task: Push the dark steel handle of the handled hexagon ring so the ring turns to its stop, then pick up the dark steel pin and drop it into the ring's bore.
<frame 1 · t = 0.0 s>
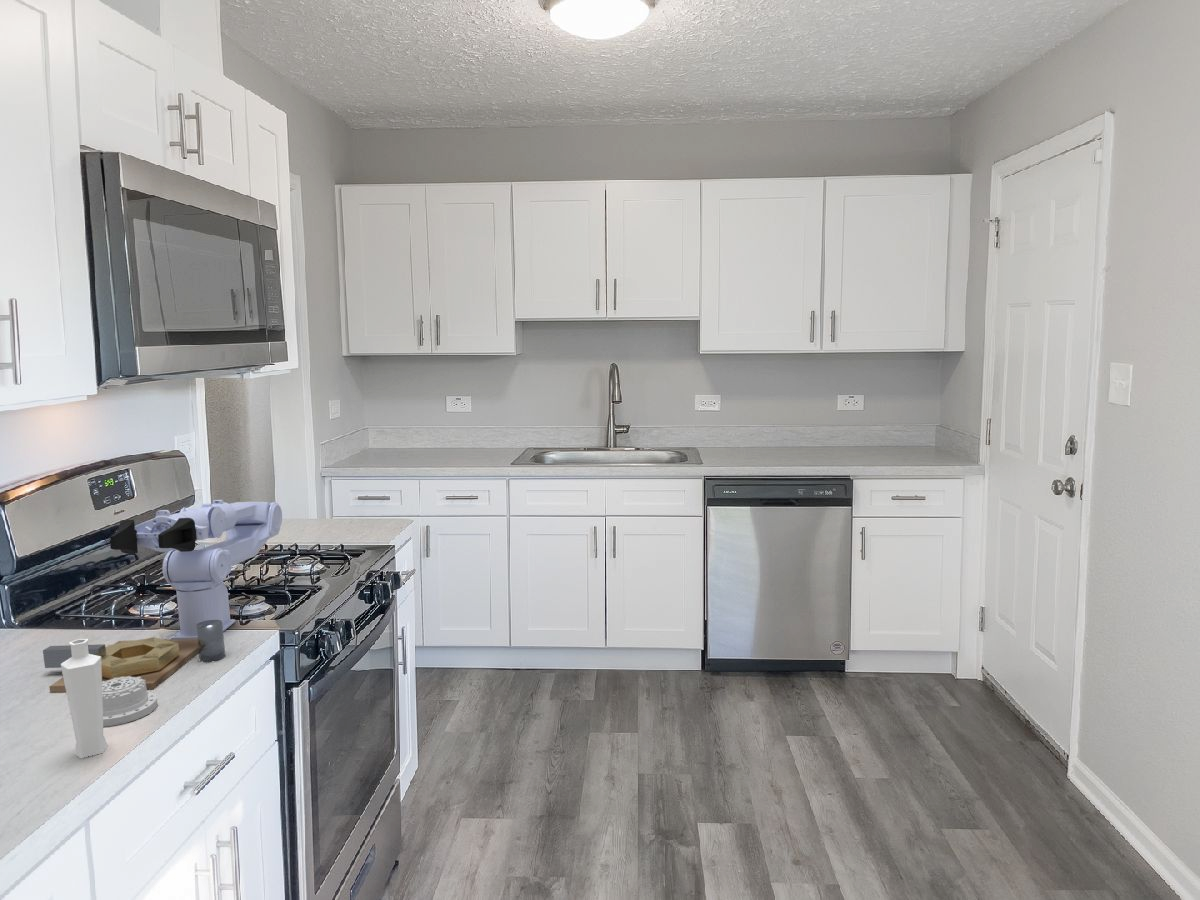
hand: (136, 542, 141), 22 cm above the table, tool horizontal, fingers open, 7 cm apart
mount board: (135, 666, 147), on the table
steel pin: (212, 657, 150), on the table
perfume bottle: (93, 751, 117), on the table
mechanical component: (119, 715, 129), on the table
handled hexagon ring: (108, 655, 144), point 3 cm above the table, hinge at 0.0°
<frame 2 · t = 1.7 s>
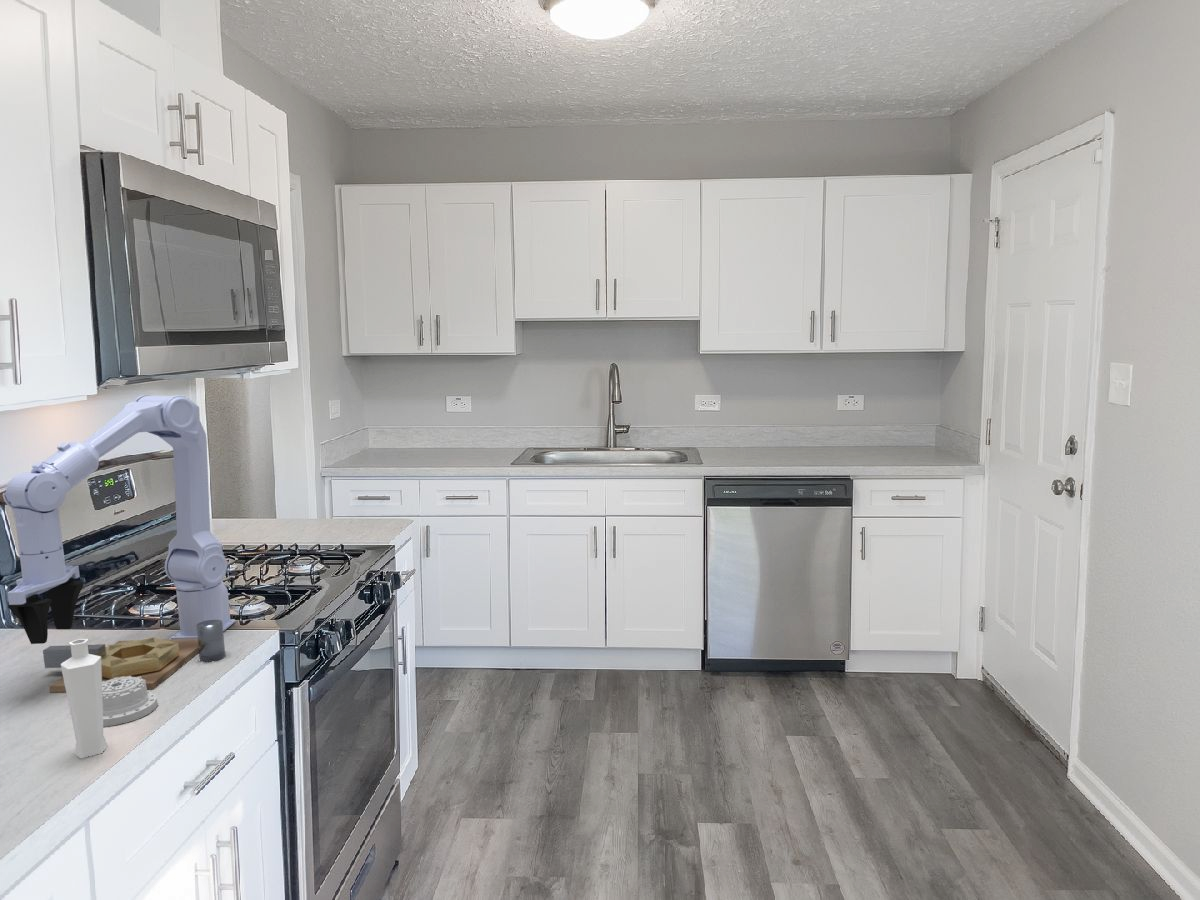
hand: (51, 635, 138), 8 cm above the table, tool pointing down, fingers open, 6 cm apart
nothing on the table moved.
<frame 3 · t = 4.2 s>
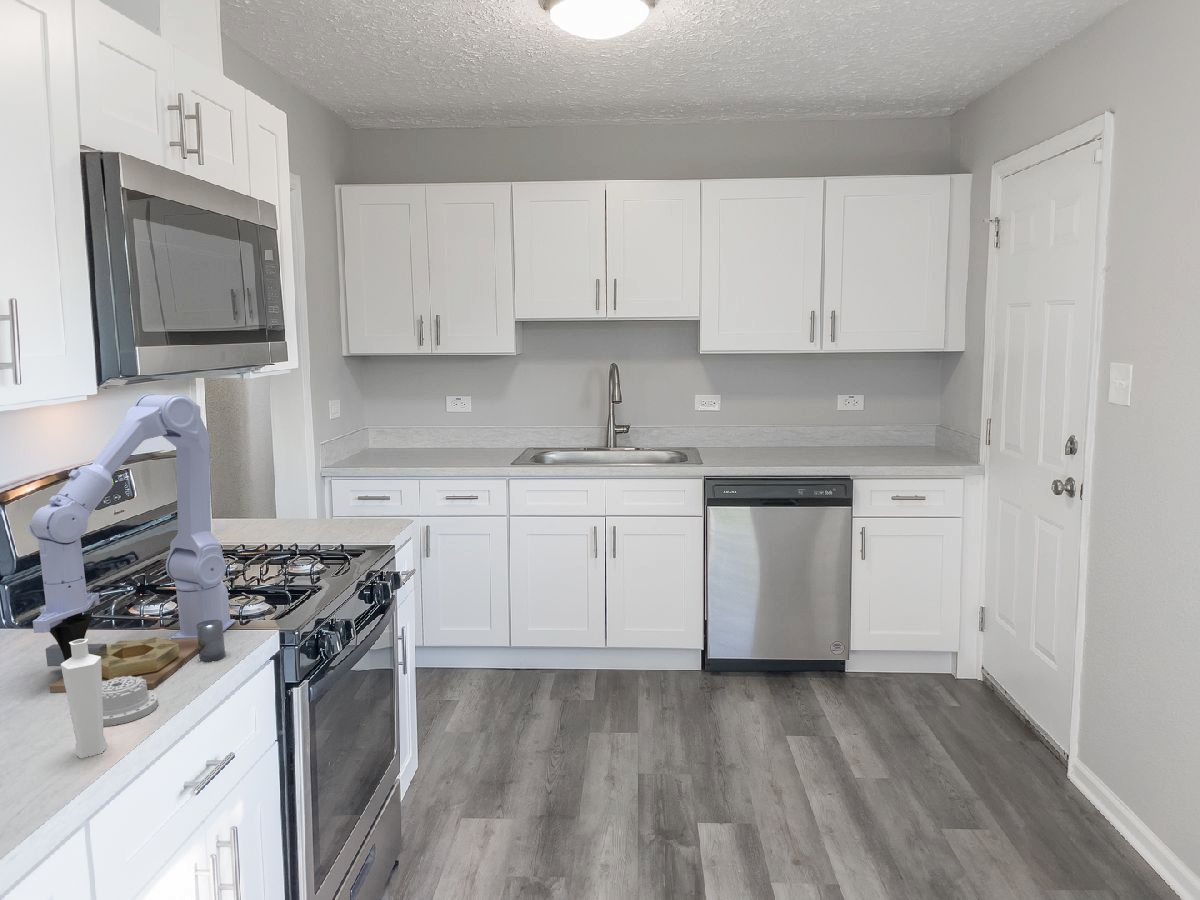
hand: (73, 661, 143), 2 cm above the table, tool pointing down, fingers closed
handled hexagon ring: (109, 654, 145), point 3 cm above the table, hinge at -3.0°, touching gripper
everything else where it was.
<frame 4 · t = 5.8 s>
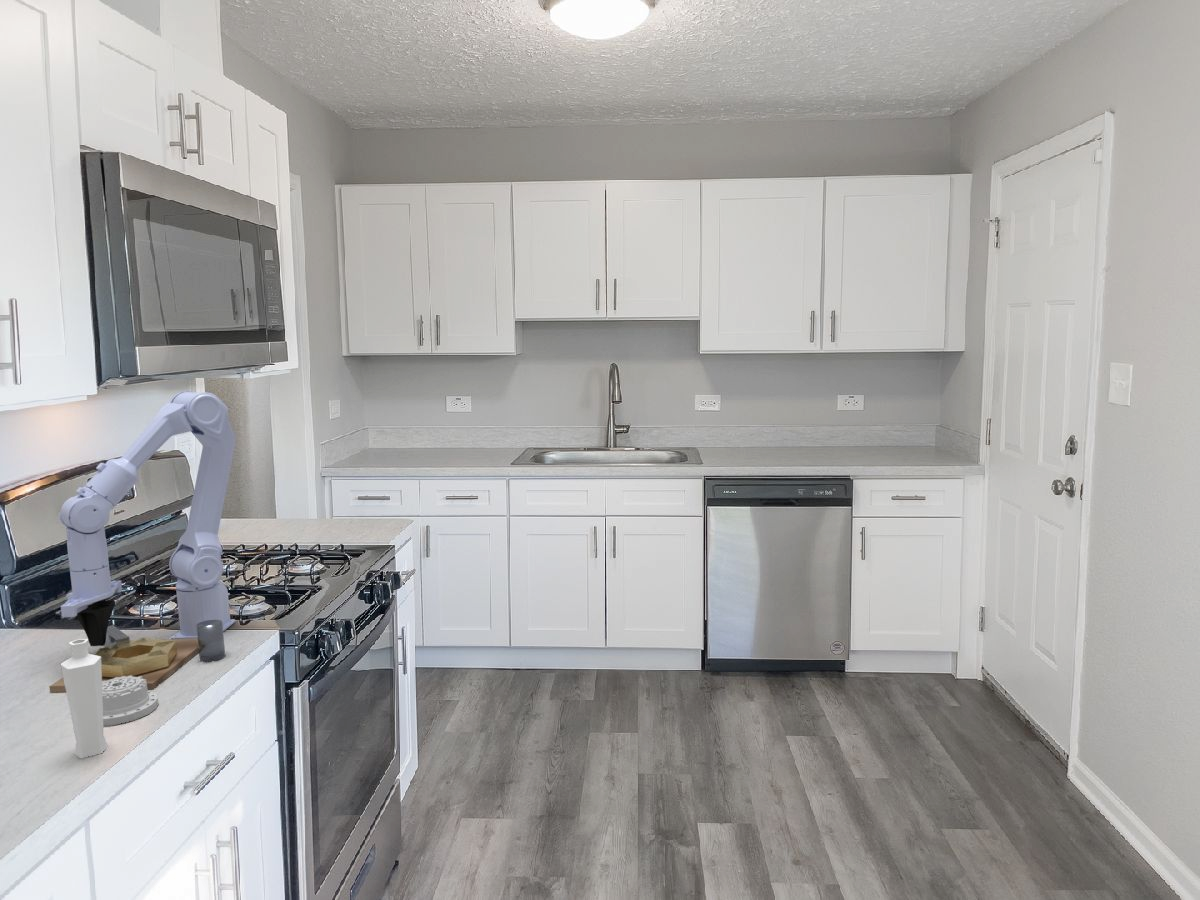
hand: (97, 645, 150), 2 cm above the table, tool pointing down, fingers closed
handled hexagon ring: (125, 648, 147), point 3 cm above the table, hinge at -45.7°, touching gripper
everything else where it was.
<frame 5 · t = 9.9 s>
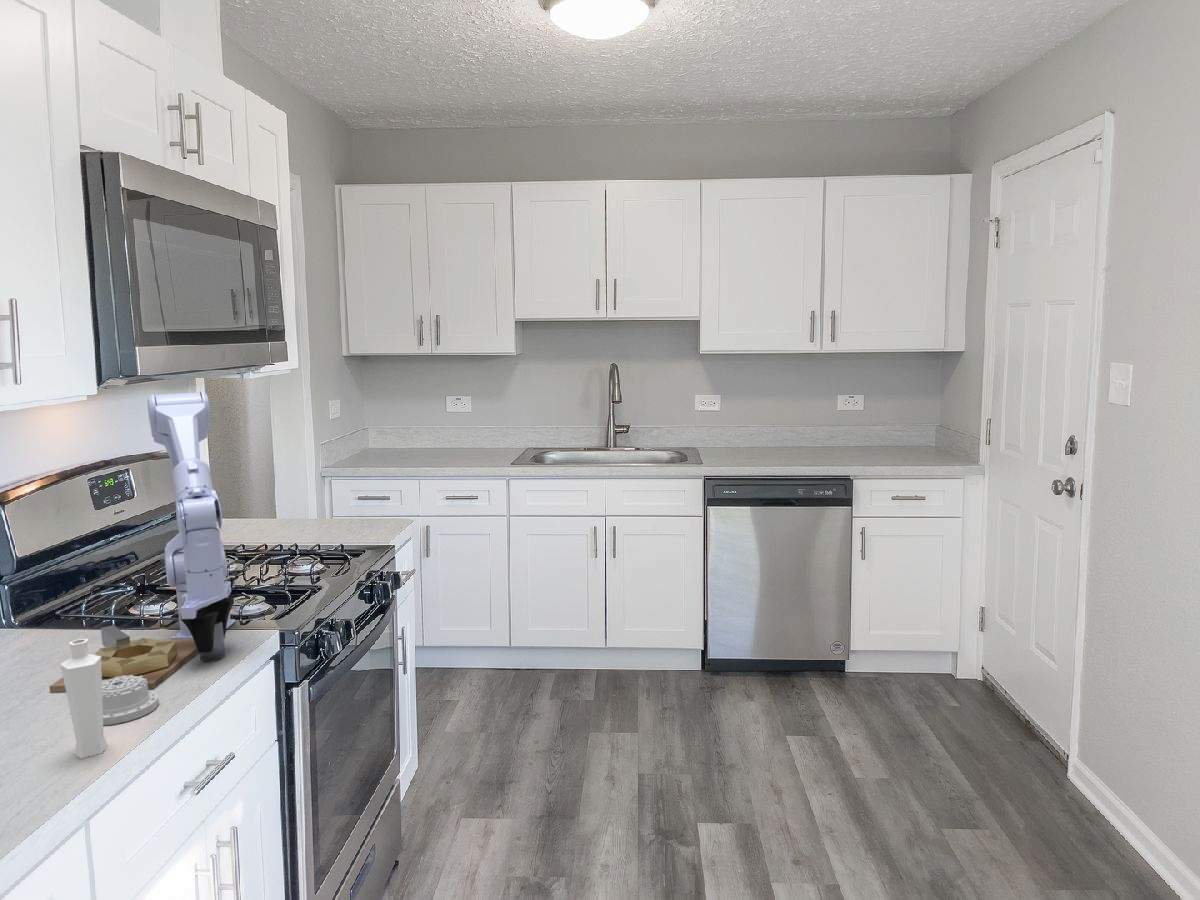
hand: (211, 646, 149), 2 cm above the table, tool pointing down, fingers closed on steel pin, 4 cm apart
steel pin: (212, 657, 150), on the table, touching gripper
handled hexagon ring: (125, 648, 147), point 3 cm above the table, hinge at -46.0°
everything else where it was.
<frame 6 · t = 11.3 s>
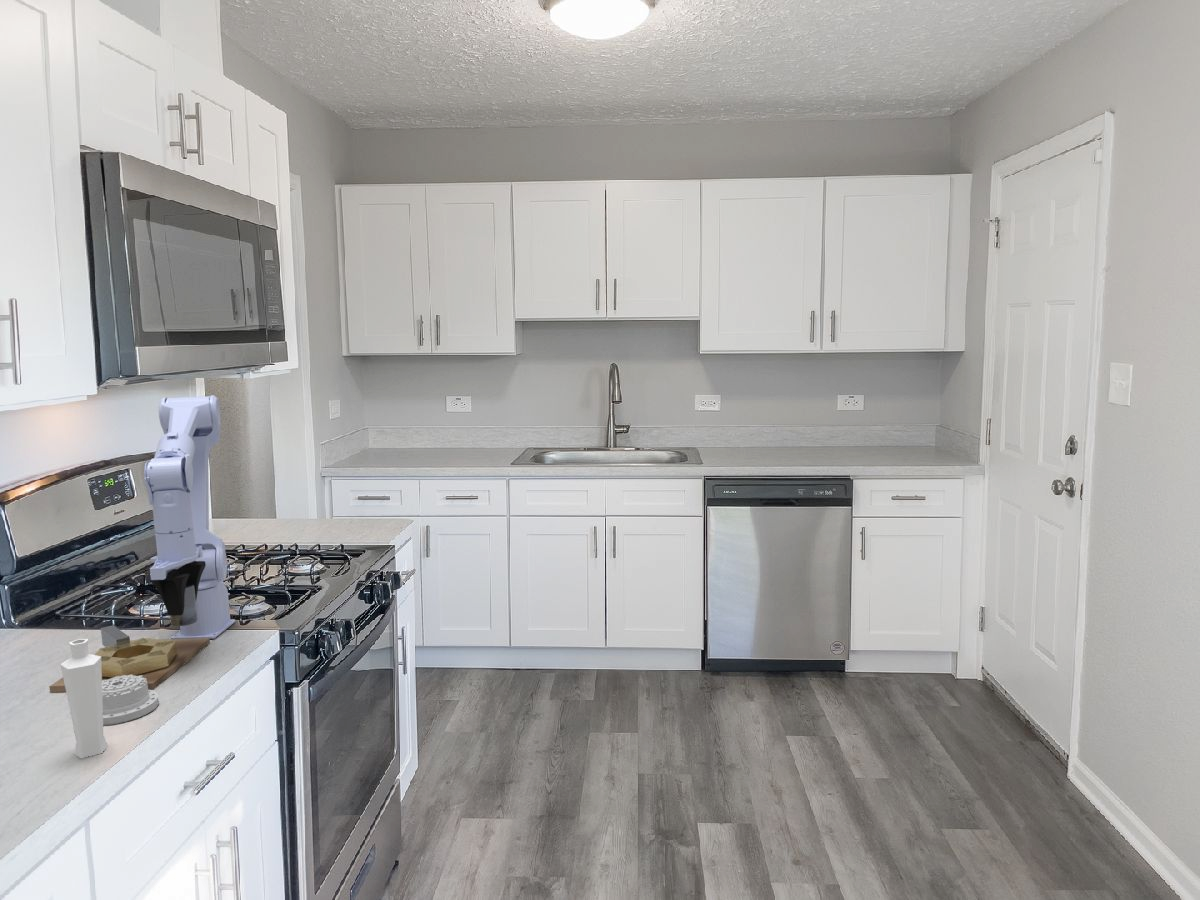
hand: (182, 610, 147), 9 cm above the table, tool pointing down, fingers closed on steel pin, 4 cm apart
steel pin: (184, 622, 147), point 7 cm above the table, touching gripper
everything else where it was.
when the fingers open (4 cm above the table, at t = 13.0 s): steel pin drops 1 cm, resting on mount board.
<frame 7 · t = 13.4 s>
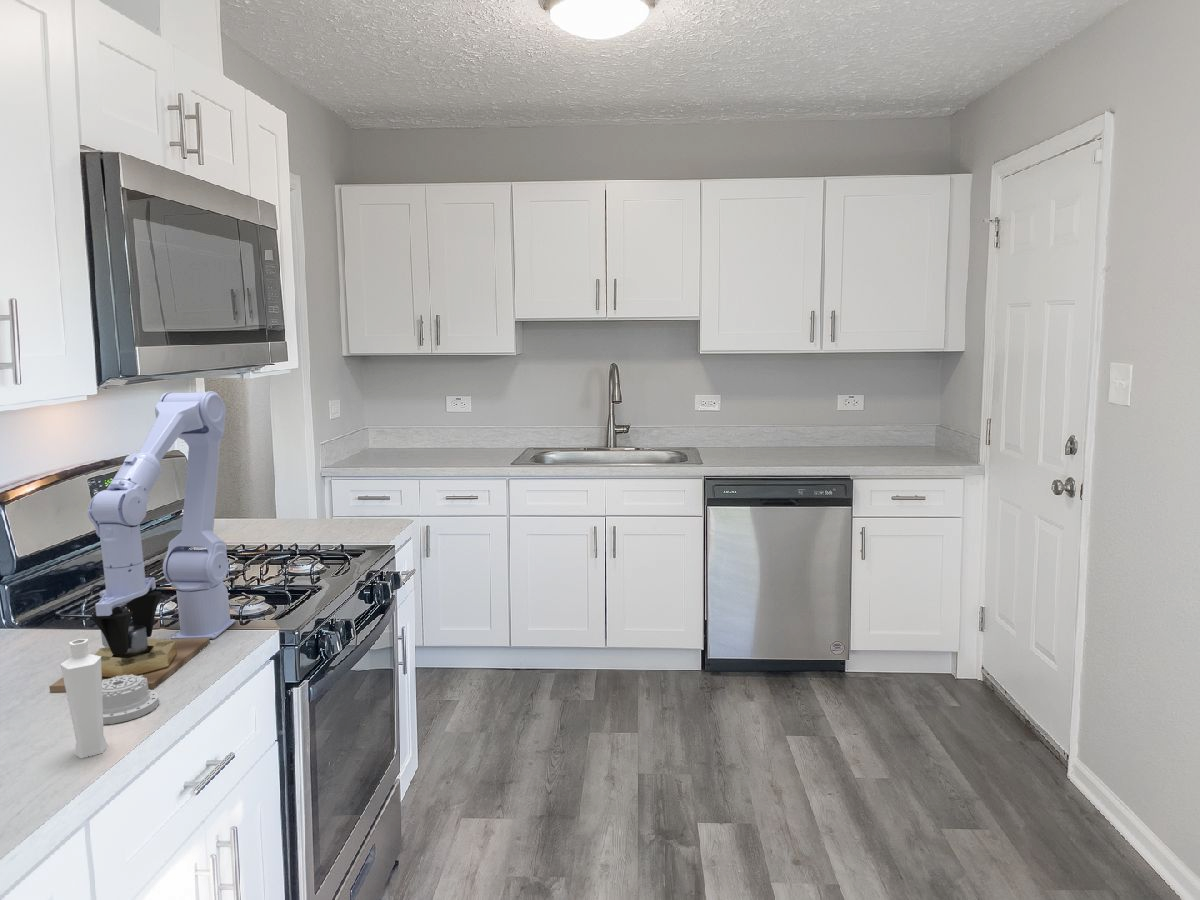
hand: (132, 644, 144), 4 cm above the table, tool pointing down, fingers open, 7 cm apart
steel pin: (135, 664, 145), point 1 cm above the table, touching mount board
everything else where it was.
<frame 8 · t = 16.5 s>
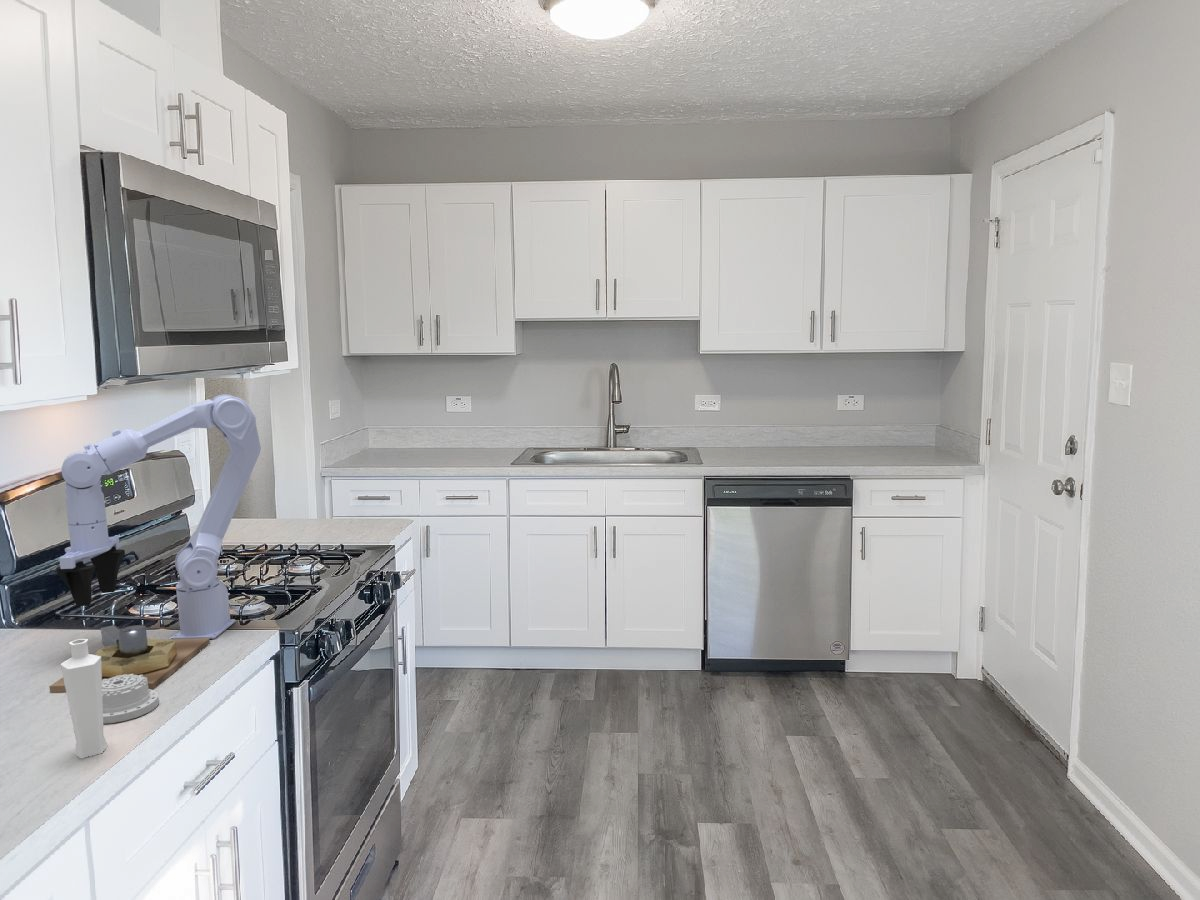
hand: (96, 598, 153), 9 cm above the table, tool pointing down, fingers open, 7 cm apart
nothing on the table moved.
at the end: handled hexagon ring at -46° (first picture: +0°); steel pin 0.2 cm from the handled hexagon ring (horizontally); steel pin point 1.0 cm above the table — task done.
